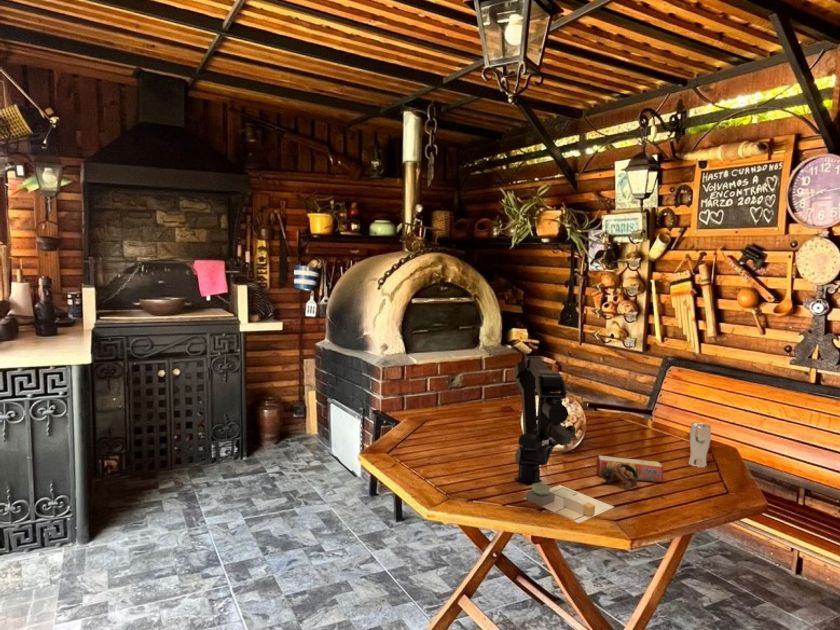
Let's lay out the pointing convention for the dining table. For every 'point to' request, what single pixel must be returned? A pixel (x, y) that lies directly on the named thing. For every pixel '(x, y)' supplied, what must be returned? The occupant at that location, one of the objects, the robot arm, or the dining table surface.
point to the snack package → (643, 468)
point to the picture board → (568, 513)
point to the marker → (578, 505)
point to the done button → (540, 488)
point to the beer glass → (699, 443)
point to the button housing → (540, 498)
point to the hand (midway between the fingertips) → (544, 464)
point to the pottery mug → (620, 475)
